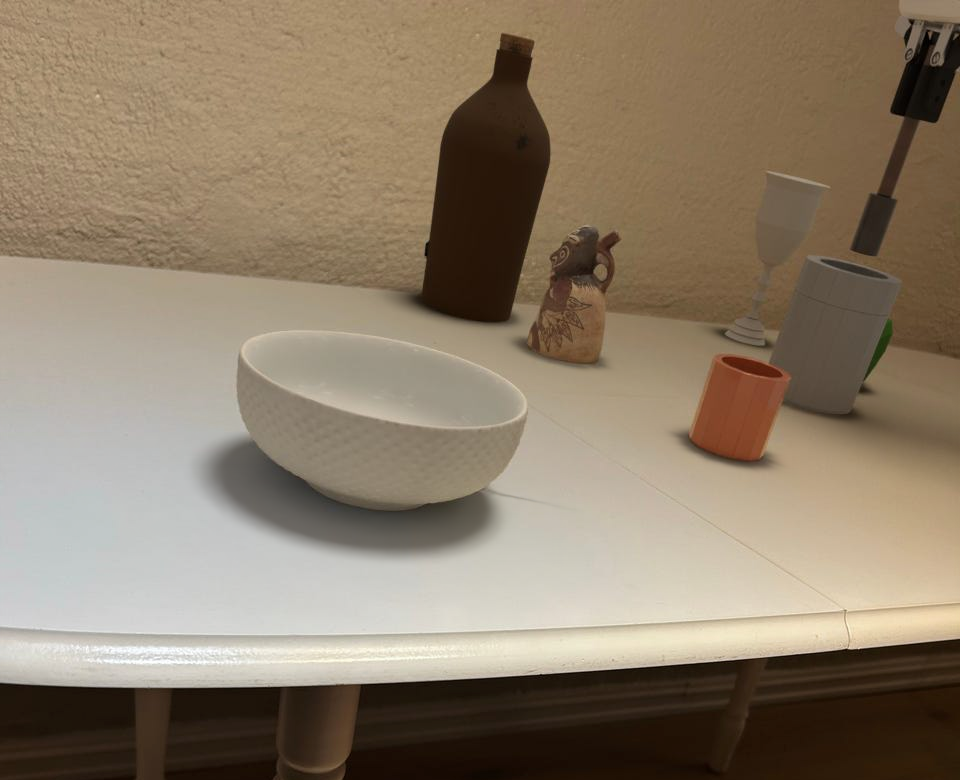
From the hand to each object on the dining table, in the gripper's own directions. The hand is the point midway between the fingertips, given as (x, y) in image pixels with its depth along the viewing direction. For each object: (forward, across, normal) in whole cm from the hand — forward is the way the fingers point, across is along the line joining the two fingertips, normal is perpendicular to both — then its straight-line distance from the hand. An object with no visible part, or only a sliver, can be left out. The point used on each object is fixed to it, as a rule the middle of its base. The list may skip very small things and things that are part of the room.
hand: (913, 117), depth 91 cm
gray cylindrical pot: (+26, 0, 0) cm, 26 cm away
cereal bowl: (+26, -26, +52) cm, 64 cm away
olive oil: (+26, +20, +30) cm, 44 cm away
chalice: (+26, +22, -6) cm, 35 cm away
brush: (+12, 0, 0) cm, 12 cm away
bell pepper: (+26, +9, -10) cm, 29 cm away
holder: (+26, -16, +20) cm, 36 cm away
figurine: (+26, +7, +25) cm, 37 cm away
